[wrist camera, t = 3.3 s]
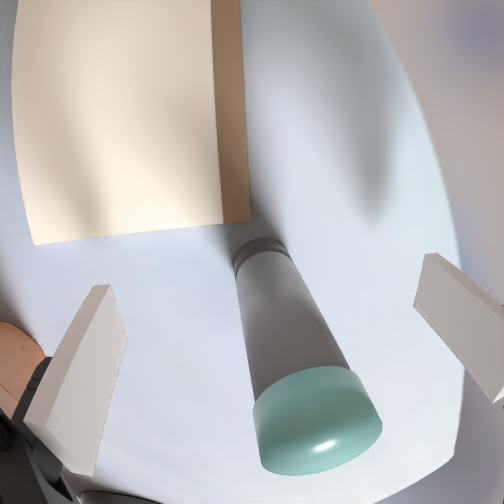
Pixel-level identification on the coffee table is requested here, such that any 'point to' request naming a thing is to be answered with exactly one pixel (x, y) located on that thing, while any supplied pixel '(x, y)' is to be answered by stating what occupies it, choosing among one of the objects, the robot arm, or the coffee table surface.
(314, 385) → the marker
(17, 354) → the potted plant
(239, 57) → the notepad
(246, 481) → the coffee table surface
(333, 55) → the coffee table surface
